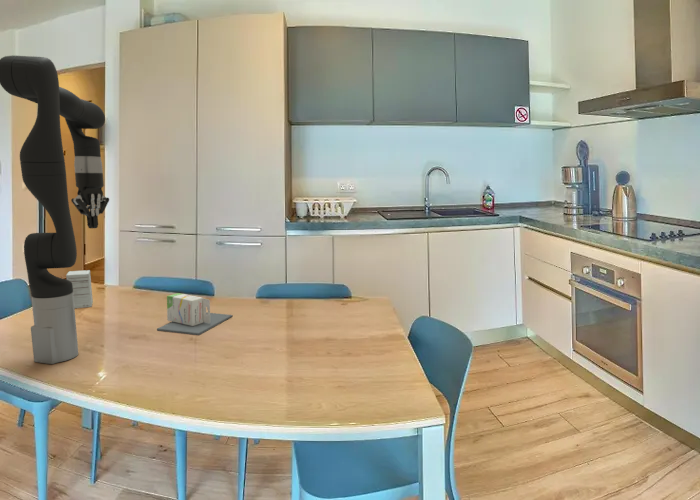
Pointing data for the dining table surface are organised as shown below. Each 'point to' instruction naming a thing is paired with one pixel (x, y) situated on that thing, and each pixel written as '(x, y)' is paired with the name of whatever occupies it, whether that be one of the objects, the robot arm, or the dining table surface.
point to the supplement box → (81, 288)
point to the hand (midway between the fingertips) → (93, 228)
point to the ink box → (187, 309)
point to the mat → (195, 329)
